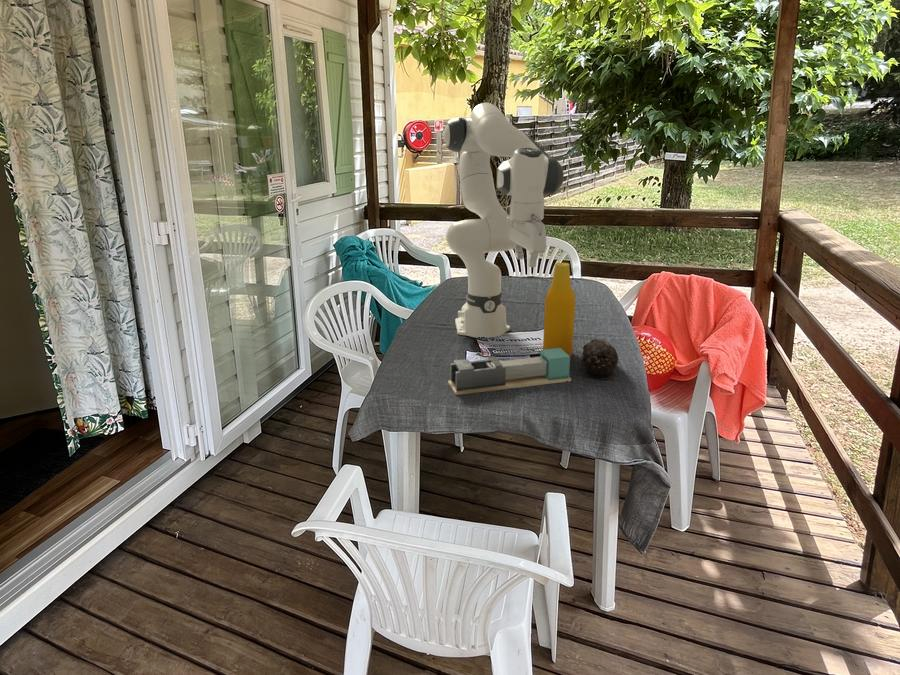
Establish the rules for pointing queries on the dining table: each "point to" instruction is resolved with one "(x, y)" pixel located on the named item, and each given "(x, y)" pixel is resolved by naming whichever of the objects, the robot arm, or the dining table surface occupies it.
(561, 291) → the beer bottle
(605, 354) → the pine cone
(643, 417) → the dining table surface
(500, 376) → the sleeve
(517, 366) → the slip tube
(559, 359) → the teal cube
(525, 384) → the board
